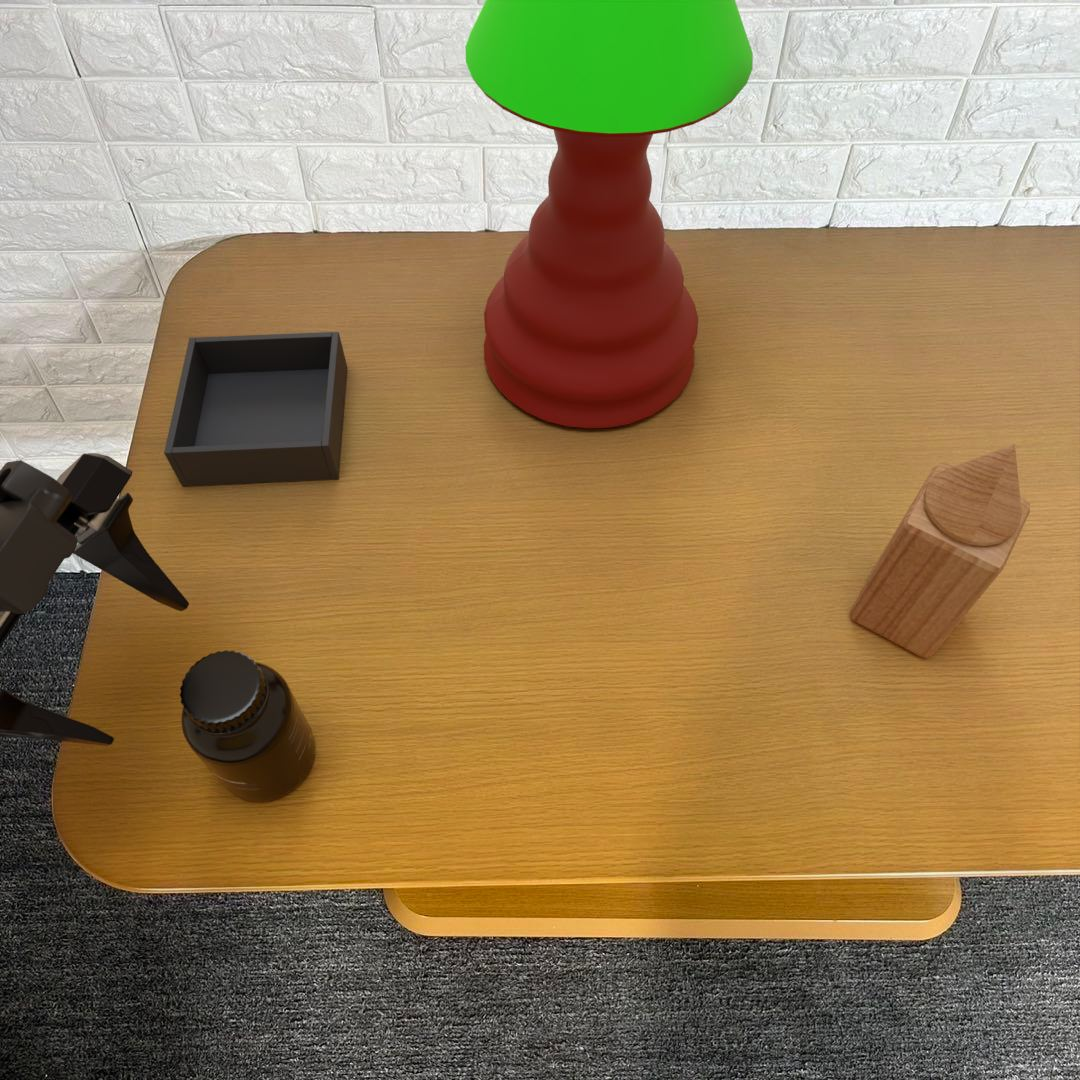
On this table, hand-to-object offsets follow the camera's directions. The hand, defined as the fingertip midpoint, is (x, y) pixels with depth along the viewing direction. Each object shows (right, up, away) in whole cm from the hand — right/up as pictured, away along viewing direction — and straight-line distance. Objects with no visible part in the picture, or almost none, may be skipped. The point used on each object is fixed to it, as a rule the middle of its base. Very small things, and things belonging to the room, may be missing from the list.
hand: (150, 672), depth 54 cm
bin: (-1, +18, +26) cm, 32 cm away
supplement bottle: (+5, -7, +9) cm, 12 cm away
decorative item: (+52, +2, +16) cm, 54 cm away
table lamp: (+28, +26, +31) cm, 49 cm away
